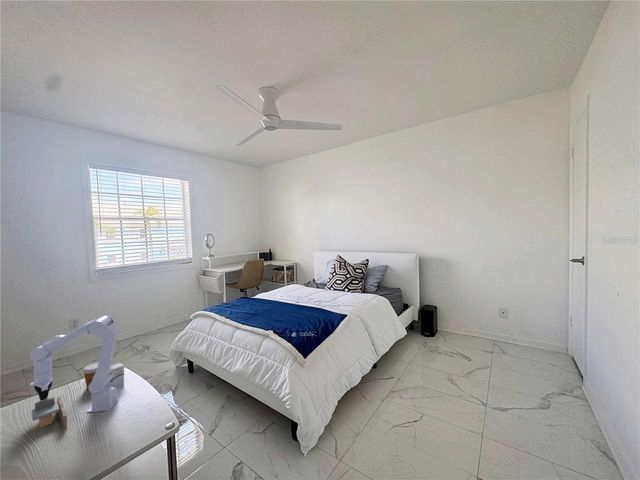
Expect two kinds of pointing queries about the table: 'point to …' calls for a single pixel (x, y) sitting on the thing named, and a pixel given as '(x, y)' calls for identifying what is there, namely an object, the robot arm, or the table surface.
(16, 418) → the table surface
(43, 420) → the letter cube
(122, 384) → the ink box
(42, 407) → the slate cover
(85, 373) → the disposable coffee cup
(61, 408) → the walnut track wall
